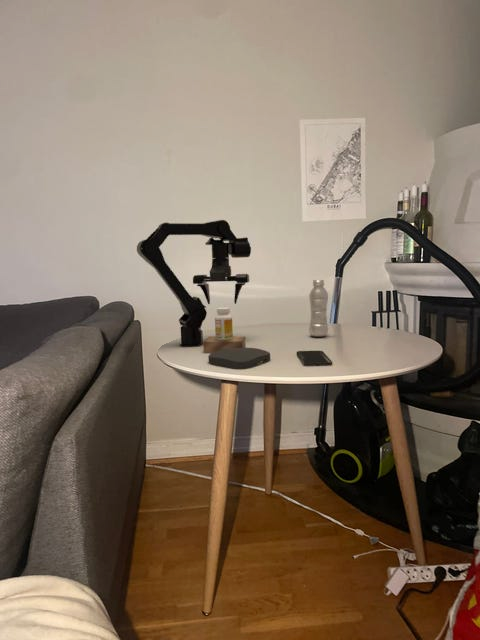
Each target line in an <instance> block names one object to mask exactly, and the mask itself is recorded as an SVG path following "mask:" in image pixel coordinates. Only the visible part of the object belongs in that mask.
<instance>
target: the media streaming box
mask: <svg viewBox="0 0 480 640" xmlns="http://www.w3.org/2000/svg"><path fill="white" fill-rule="evenodd" d="M270 361H271V353H270V352H269V351H267V350H265V349H261V348H255V347H246V348H229V349H222V350H219V351H216V352H213V353H209V355H208V364H209V365H213V366H216V367H222V368H227V369H233V370H244V369H245V370H247V369H251V368H254V367H257V366H260V365H263V364H265V363H269V362H270Z"/></svg>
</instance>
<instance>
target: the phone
mask: <svg viewBox="0 0 480 640" xmlns="http://www.w3.org/2000/svg"><path fill="white" fill-rule="evenodd" d="M296 356H297V358H298V360H299V362H300V363H301V364H302V366H303V367H330V366H333V361H332V360H331V359H330V358H329V356H328V355H327V354H326V353H325V351H323V350H298V351H296Z"/></svg>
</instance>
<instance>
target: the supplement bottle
mask: <svg viewBox="0 0 480 640" xmlns="http://www.w3.org/2000/svg"><path fill="white" fill-rule="evenodd" d="M230 311H231V310H230V307H217V308H216V315H215V316H214V327H215V329H214V330H215V337H216V339H217V340H230V339H232V338H233V335H234V334H233V333H234V332H233V331H234V330H233V316H232V315H231V314H230Z"/></svg>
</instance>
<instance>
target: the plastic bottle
mask: <svg viewBox="0 0 480 640" xmlns="http://www.w3.org/2000/svg"><path fill="white" fill-rule="evenodd" d="M312 286H313V288H312V289H311V290H310V293H309V295H308V297H309V304H310V306H309V307H310V319H309V320H310V321H309V327H308V331H309V332H308V333H309V335H310V336H311V337H316V338H321V337H325V336H327V335H328V333H329V326H328V321H327V320H328V319H327V318H328V317H327V310H328V300H329V293H328V291H327V290H326V288H325V287H324V286H325V281H324V279H314V280H313V281H312Z"/></svg>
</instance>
